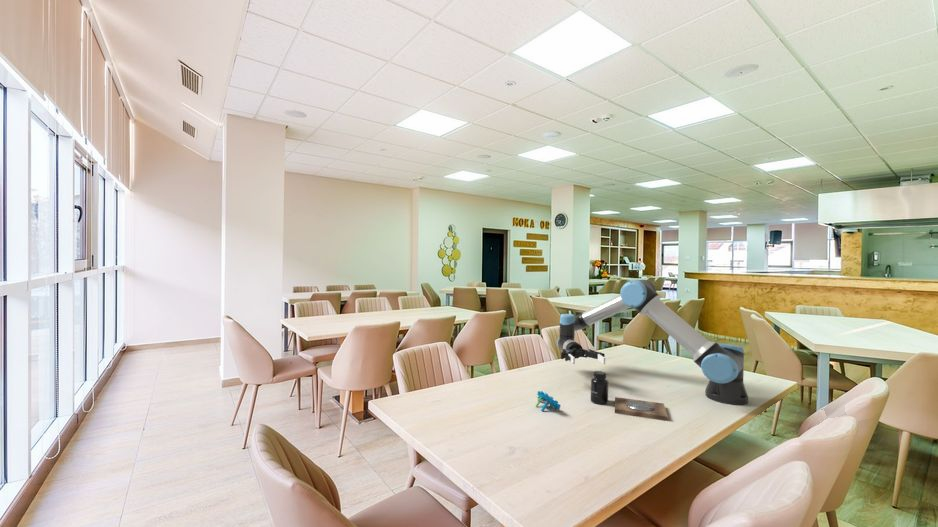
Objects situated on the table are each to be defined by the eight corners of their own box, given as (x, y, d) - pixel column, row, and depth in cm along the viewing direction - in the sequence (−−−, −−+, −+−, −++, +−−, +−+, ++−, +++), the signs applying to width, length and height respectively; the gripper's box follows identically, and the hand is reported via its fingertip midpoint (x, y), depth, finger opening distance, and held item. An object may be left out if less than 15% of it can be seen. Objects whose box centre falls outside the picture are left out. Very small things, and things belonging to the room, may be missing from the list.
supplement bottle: (589, 403, 155) (590, 373, 155) (591, 397, 162) (591, 369, 161) (607, 406, 153) (608, 375, 153) (608, 400, 159) (609, 371, 159)
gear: (566, 408, 145) (550, 391, 143) (558, 421, 143) (541, 405, 141) (548, 402, 155) (532, 386, 153) (540, 415, 153) (524, 399, 151)
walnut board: (663, 407, 152) (663, 402, 152) (667, 420, 139) (667, 415, 139) (615, 400, 159) (615, 396, 159) (614, 413, 146) (614, 408, 146)
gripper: (597, 356, 189) (616, 369, 168) (547, 356, 188) (560, 369, 166) (598, 341, 189) (617, 352, 168) (548, 341, 187) (561, 352, 166)
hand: (589, 360), depth 167 cm, fingers open, 13 cm apart
